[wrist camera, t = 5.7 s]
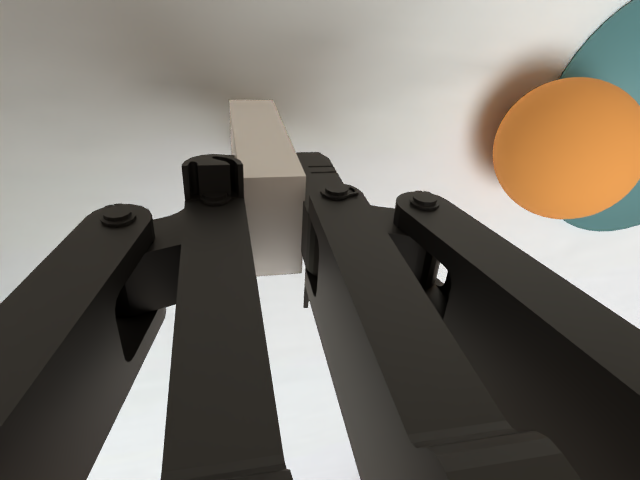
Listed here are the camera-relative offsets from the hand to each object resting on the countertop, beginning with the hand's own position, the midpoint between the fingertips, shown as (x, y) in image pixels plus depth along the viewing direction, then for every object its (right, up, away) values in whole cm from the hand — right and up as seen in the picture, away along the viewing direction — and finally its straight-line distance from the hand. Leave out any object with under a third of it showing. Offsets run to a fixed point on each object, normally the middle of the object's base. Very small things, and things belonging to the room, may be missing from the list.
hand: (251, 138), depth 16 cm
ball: (+12, 0, +2) cm, 12 cm away
